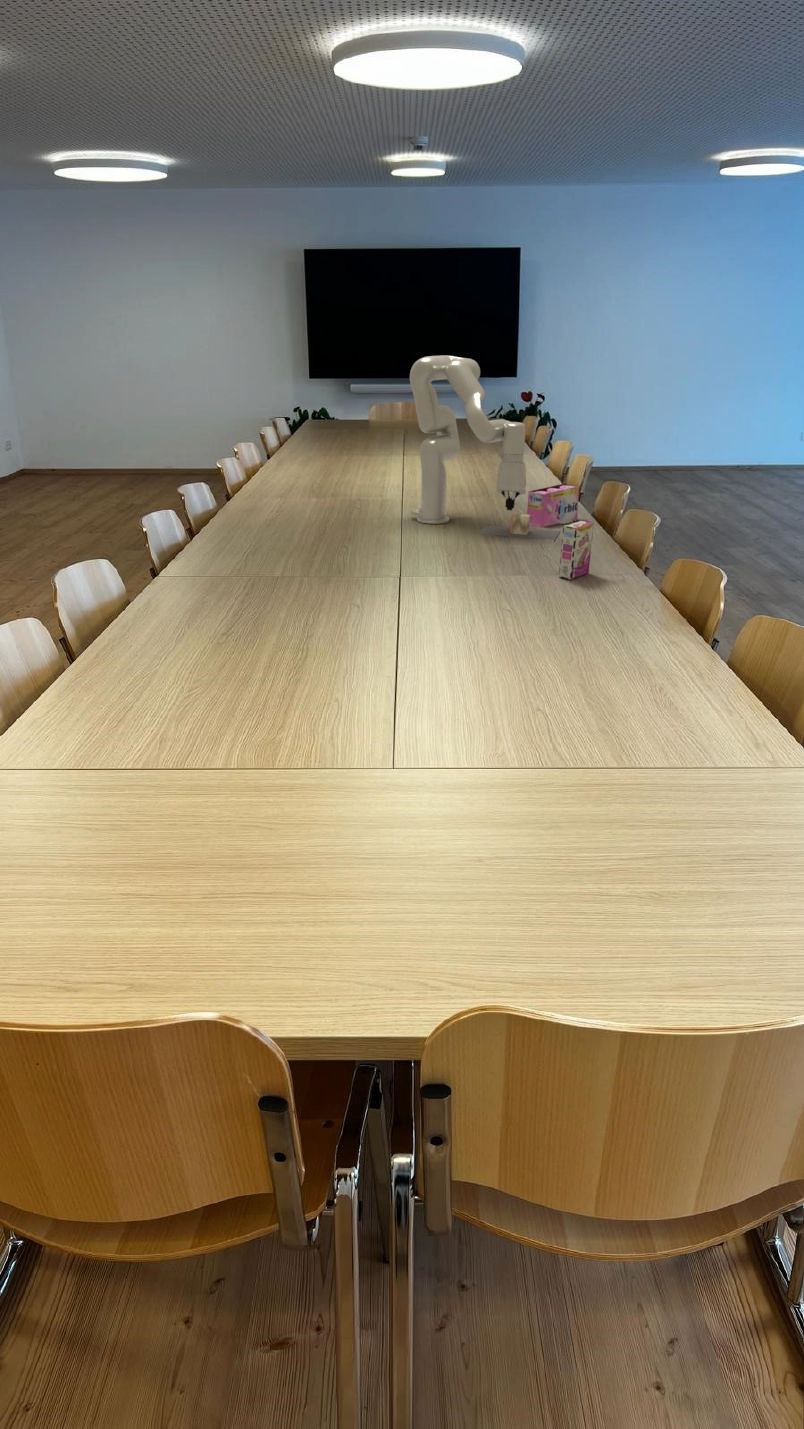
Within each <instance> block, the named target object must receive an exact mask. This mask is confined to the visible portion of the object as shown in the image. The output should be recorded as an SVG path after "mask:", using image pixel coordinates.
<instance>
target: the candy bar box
mask: <svg viewBox="0 0 804 1429" xmlns="http://www.w3.org/2000/svg"><path fill="white" fill-rule="evenodd" d="M594 525H595V522H591V521H584V520H578V521H575V522H571V523H568V524H567V525H566V524H565V525H563V526H562V527H563V528H562V537H561V548H560V561H559V571H558V578H561V579H564V580H568V581H572V580H574V579H577V578H580V577H582V576H584V575H587V574H589V572H590V563H591V562H590V560H591V553H592V552H591V551H592V544H593V533H594Z"/></svg>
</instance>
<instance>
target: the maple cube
mask: <svg viewBox="0 0 804 1429" xmlns="http://www.w3.org/2000/svg"><path fill="white" fill-rule="evenodd" d="M529 522H530V515H527V514H522V513H513V514H512V515H511V516H510V526H509V527H510V534H523V535H526V534H527V533H528V532H529V529H530V525H529Z"/></svg>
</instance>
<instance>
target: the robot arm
mask: <svg viewBox="0 0 804 1429" xmlns="http://www.w3.org/2000/svg"><path fill="white" fill-rule="evenodd" d="M409 372H410V373H409V383H410V387H411V391H412V395H413V400H414V406H415V412H416V417H417V422H418V426H419V429H420V431H421V432H423V433H424V434H434V433H436V435H435V436H430V437H428V438H425V439H424V440H423V441H422V442H421V444H420V447H419V458H420V464H421V465H420V466H421V467H420V468H421V489H420V490H421V495H420V496H421V497H420V498H421V499H420V508H418V509H417V508H411V509H410V514H411V515H418V516H417V517H416V521H417V522H418V523H421V524H422V523H423V524H427V525H428V524H430V525H440V524H446V523H448V522H450V517H449V516H447V514H446V510H447V476H448V475H447V469H446V466H445V463H444V462H446V461H449V460H454V459H455V458H456V457H458V455H459V453H460V450H461V449H460V448H461V447H460V446H461V445H460V438H459V437H460V436H459V430H458V425H457V420H456V416H455V413H454V412H453V410H452V409H451V408H450V407H449V406H447V405H444V404H443V405H439V402H438V395H437V392H436V391H437V390H435V387H434V385H432V382H433V381H440V380H441V381H442V380H447V381H448V382H449V383H450V385H451V387H453V389H454V391H455V393H456V394H457V395H458V397H459V399H460V400H461V401H462V404H464V406H465V415H466V416H465V418H466V421H467V424H468V426H469V427H470V429H471V430H472V432H473V433H474V435H475V436H476V438H477V439H478V440H479V441H480V442H481V443H484V444H491V443H499V442H503V443H502V444H503V445H502V453H498V459H501V461H499V463H498V464H499V465H498V470H497V477H496V485H495V486H496V487H495V488H496V490H495V492H496V493H497V494H501V495H503V497H504V499H505V506H504V507H505V508H506V511H509V512H510V511H512V510H513V509H514V508H515V501H516V500H515V499H516V498H517V497H518V496H523V495H526V494H527V491H526V484H527V469H526V462H524V457H525V442H526V425H525V423H523V422H518V421H510V420H506V419H503V418H501V419H500V418H499V419H492V420H489V419H488V417H487V416H486V414H485V413H484V411H483V409H482V406H481V405H482V403H481V402H482V400H483V399H484V398H485V396H486V391H485V389H484V388H483V387H482V385H481V383H480V382H479V378H480V376H481V368H480V366H479V364H478V362H477V361H476V360H474V359H472V358H466V357H460V356H459V357H458V356H455V355H441V354H440V355H431V356H430V355H429V356H424V357H423V356H422V357H421V358H419V359H418V360H416V361H415V362H414V363H413V365H412V367H411V369H410V371H409ZM510 492H512V494H511V496H510Z"/></svg>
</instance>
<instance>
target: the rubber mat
mask: <svg viewBox="0 0 804 1429" xmlns="http://www.w3.org/2000/svg"><path fill="white" fill-rule="evenodd" d="M477 533H478V535H489V536H503V537H512V538H513V537H514V538H528V539H529V538H530V539H531V538H532V539H540V540H541V539H543V540H554V541H553V543H556V542H557V539H558V537H560V535H561V530H552V529H550V530H549V529H537V528H529V532H528V533H527V534H526V535H523V534H510V526H500V525H499V526H495V525H485V526H484V527H483V528H482V529H481V530H480V531H479V532H477Z"/></svg>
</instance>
